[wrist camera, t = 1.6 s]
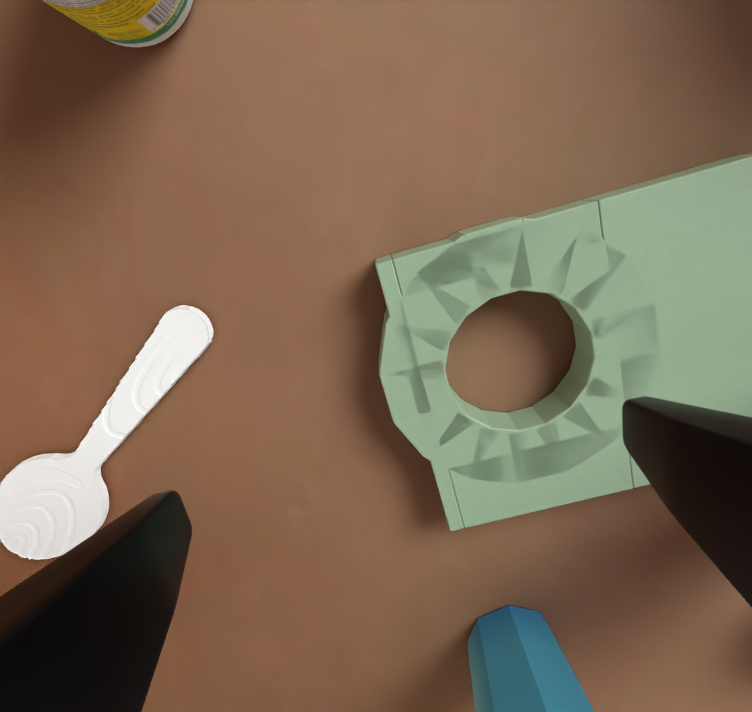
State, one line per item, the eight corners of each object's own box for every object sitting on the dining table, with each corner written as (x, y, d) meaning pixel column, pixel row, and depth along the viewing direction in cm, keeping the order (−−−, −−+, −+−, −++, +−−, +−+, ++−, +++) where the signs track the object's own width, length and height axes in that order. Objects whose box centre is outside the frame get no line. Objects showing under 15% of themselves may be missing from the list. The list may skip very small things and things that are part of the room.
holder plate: (734, 150, 20) (772, 145, 18) (742, 435, 24) (775, 455, 22) (349, 262, 21) (346, 268, 19) (423, 512, 25) (427, 537, 23)
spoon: (248, 347, 22) (245, 350, 22) (62, 572, 26) (56, 580, 26) (152, 273, 21) (147, 275, 20) (-26, 522, 25) (-34, 528, 25)
